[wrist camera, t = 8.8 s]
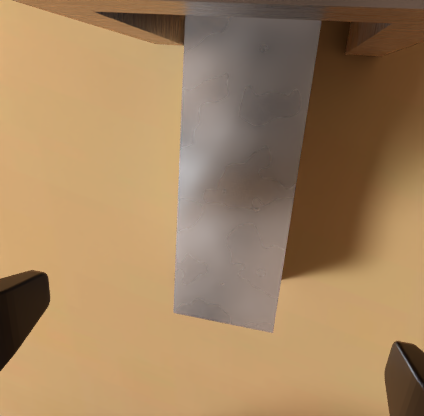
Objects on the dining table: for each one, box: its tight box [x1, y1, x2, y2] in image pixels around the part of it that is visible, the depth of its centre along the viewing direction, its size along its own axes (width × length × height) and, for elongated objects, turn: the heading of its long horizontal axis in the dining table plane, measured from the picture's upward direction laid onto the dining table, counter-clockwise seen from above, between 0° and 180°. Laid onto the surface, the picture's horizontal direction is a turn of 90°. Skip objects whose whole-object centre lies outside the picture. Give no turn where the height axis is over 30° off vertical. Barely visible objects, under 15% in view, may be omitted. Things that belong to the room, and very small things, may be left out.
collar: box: [13, 0, 424, 56], centre depth 10 cm, size 2×9×9 cm, turn 85°
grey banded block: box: [174, 15, 322, 333], centre depth 13 cm, size 18×4×4 cm, turn 176°
